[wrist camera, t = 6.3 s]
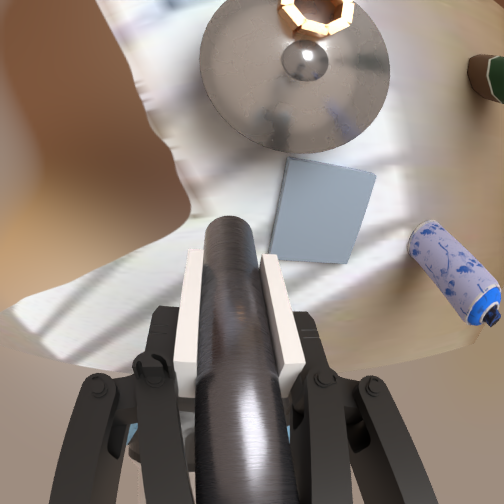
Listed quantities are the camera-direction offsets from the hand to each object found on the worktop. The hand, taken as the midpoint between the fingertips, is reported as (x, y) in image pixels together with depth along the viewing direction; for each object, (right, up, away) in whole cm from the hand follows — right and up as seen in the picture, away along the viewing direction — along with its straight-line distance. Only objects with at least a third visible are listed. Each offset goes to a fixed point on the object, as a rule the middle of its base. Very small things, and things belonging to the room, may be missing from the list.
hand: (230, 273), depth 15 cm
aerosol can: (+31, +3, +27) cm, 41 cm away
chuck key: (0, +2, +3) cm, 4 cm away
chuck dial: (+5, +19, +7) cm, 21 cm away
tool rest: (+10, +6, +22) cm, 25 cm away
